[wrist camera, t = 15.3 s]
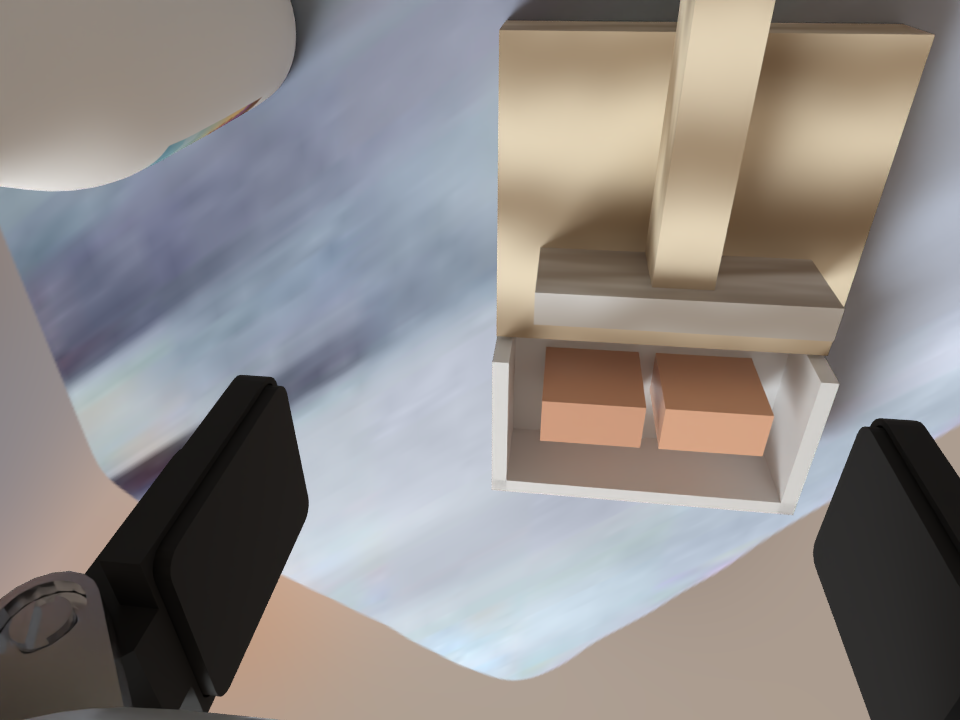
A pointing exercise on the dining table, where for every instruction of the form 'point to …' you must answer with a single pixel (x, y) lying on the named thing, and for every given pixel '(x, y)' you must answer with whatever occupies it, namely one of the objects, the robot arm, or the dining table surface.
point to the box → (648, 470)
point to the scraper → (695, 211)
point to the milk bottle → (128, 81)
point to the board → (636, 142)
